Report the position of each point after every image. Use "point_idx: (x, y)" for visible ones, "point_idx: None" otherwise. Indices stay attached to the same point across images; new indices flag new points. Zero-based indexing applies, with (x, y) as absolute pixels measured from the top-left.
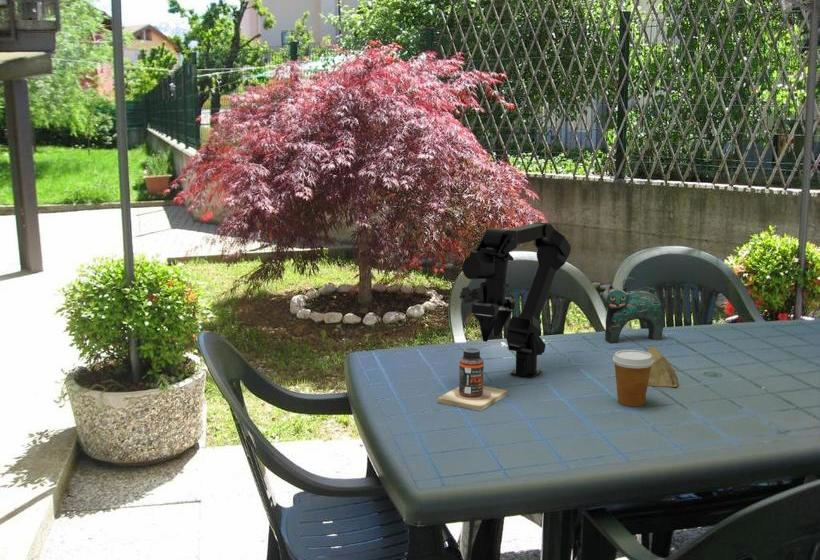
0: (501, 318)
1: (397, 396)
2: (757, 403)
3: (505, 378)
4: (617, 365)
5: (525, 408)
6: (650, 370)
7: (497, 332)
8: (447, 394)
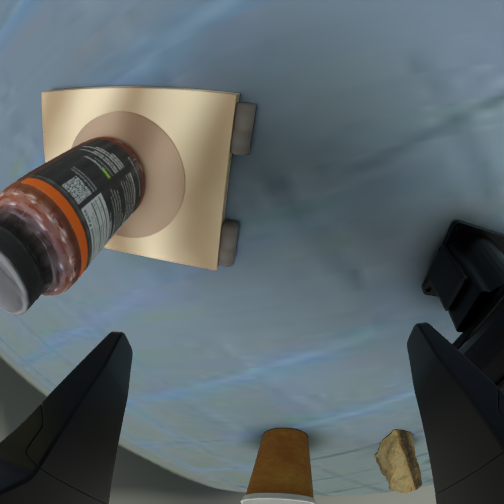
0: (455, 478)
1: None
2: (326, 485)
3: (410, 211)
4: (255, 492)
5: (146, 317)
6: (389, 462)
7: (419, 367)
8: (78, 100)
